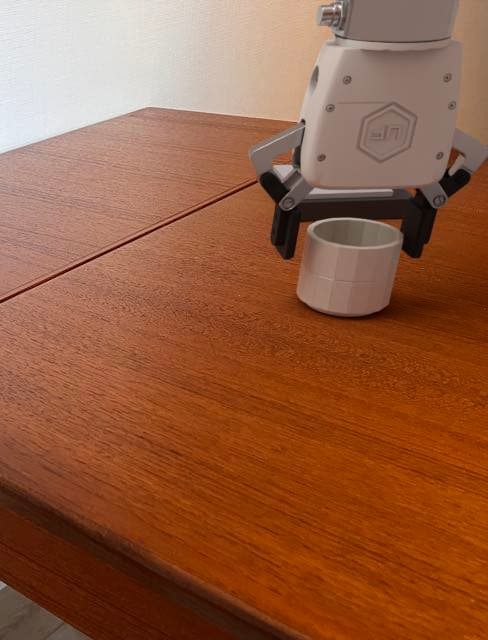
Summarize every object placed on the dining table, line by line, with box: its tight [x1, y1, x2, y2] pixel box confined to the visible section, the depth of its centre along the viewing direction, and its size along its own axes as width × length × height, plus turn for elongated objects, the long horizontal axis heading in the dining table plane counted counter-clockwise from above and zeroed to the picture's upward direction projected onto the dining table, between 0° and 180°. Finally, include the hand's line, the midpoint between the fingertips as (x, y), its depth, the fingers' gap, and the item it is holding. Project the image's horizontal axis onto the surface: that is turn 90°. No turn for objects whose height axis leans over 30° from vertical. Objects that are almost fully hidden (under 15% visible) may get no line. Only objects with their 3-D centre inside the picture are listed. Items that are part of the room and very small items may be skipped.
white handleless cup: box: [295, 218, 404, 318], centre depth 69 cm, size 7×7×6 cm
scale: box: [269, 164, 415, 222], centre depth 91 cm, size 12×12×3 cm
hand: (345, 252), depth 69 cm, fingers open, 9 cm apart
